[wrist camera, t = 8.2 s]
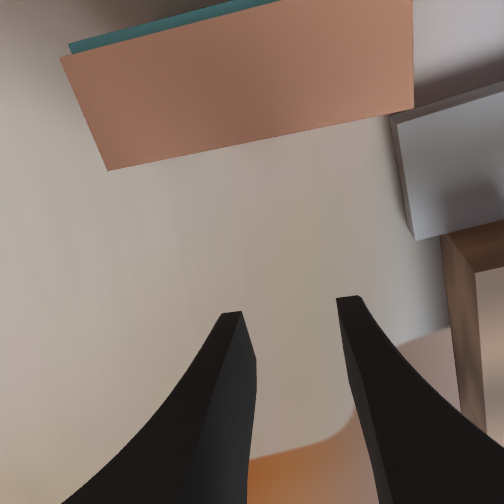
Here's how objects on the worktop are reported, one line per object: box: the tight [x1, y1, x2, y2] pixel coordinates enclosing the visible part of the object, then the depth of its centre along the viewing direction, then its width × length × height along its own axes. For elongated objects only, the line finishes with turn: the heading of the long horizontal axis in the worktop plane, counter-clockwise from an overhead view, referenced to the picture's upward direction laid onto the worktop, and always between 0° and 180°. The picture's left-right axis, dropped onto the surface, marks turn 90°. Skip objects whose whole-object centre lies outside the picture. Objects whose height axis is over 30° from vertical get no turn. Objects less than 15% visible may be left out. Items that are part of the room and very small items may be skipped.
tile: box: [60, 0, 414, 171], centre depth 11 cm, size 7×3×7 cm, turn 103°
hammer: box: [389, 80, 504, 447], centre depth 18 cm, size 19×5×4 cm, turn 19°
